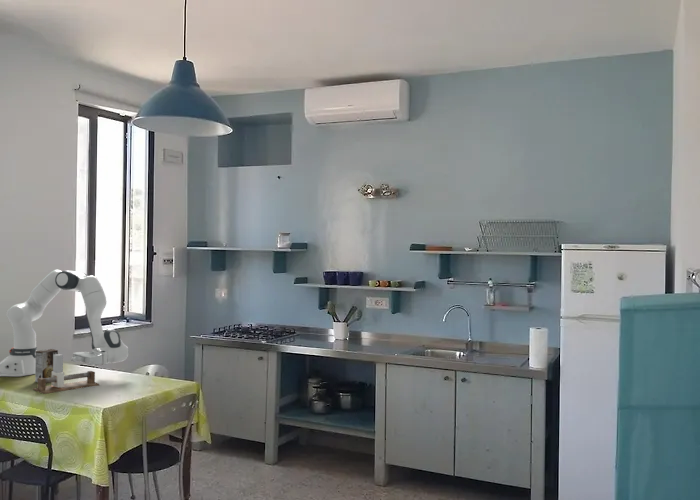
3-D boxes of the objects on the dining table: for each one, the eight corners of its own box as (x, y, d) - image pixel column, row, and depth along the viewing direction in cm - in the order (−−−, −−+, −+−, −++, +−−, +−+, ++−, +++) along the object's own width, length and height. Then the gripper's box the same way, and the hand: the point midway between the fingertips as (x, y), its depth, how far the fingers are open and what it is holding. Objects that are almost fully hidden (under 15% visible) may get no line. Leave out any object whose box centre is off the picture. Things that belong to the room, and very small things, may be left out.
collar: (57, 384, 322) (58, 353, 322) (63, 386, 318) (64, 355, 317) (51, 385, 320) (52, 354, 320) (57, 387, 315) (58, 356, 315)
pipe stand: (88, 381, 337) (88, 369, 337) (99, 385, 329) (99, 372, 329) (33, 390, 316) (33, 376, 316) (43, 394, 308) (44, 380, 308)
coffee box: (50, 378, 342) (51, 348, 342) (58, 380, 339) (58, 349, 338) (34, 381, 334) (35, 350, 334) (42, 383, 331) (42, 352, 331)
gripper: (88, 348, 341) (62, 351, 331) (108, 352, 328) (81, 355, 317) (88, 359, 341) (62, 363, 331) (107, 365, 328) (81, 368, 317)
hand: (72, 359), depth 324 cm, fingers closed
